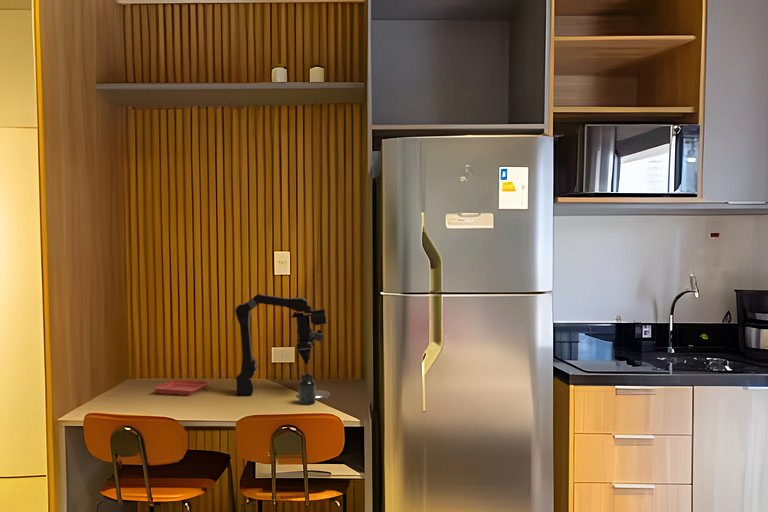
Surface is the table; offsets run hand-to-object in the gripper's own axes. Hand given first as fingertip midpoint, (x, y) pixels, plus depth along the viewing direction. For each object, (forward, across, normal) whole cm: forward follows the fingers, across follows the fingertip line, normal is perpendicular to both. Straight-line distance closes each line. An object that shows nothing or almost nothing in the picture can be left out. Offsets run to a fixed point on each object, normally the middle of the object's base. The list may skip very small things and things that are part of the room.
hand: (307, 361), depth 286 cm
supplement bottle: (+14, -16, 0) cm, 22 cm away
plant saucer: (+9, +7, +58) cm, 59 cm away
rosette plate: (+14, -3, -1) cm, 15 cm away
